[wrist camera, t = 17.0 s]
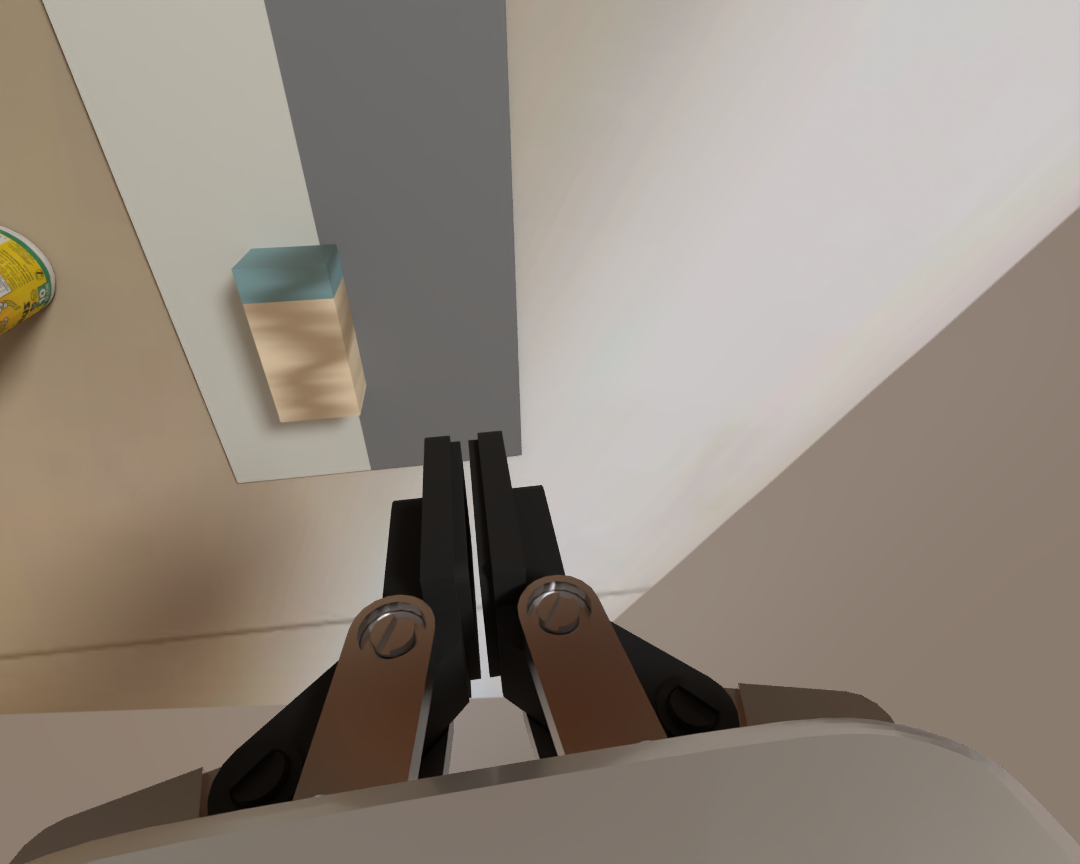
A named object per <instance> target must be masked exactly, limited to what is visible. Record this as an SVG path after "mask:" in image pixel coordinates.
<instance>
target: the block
mask: <svg viewBox="0 0 1080 864" xmlns="http://www.w3.org/2000/svg"><path fill="white" fill-rule="evenodd" d="M231 270H232V273H233V276H234V279H235V282H236V286H237V289H238V292H239V295H240V298H241V301H242V304H243V307H244V310H245V313H246V316H247V319H248V323H249V326H250V329H251V332H252V335H253V338H254V341H255V344H256V347H257V350H258V353H259V356H260V360H261V363H262V366H263V369H264V372H265V375H266V378H267V381H268V384H269V387H270V390H271V393H272V397H273V400H274V403H275V406H276V409H277V412H278V415H279V418H280V421H281V422H292V421H303V420H314V419H326V418H337V417H348V416H360V414H361V409H362V405H363V400H364V395H365V391H366V381H365V377H364V372H363V367H362V363H361V358H360V353H359V348H358V344H357V339H356V334H355V330H354V325H353V320H352V315H351V311H350V306H349V301H348V297H347V292H346V287H345V282H344V278H343V273H342V268H341V264H340V259H339V254H338V249H337V245H336V244H331V245H312V246H293V247H273V248H254V249H250V250H249V251H248V252H247V253H246V255H245V256H244V257H243V258H242V259H241V260H240V261H239V262H238V263H237V264H236V265H235V266H234V267H233V268H232V269H231Z"/></svg>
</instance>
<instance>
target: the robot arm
mask: <svg viewBox="0 0 1080 864" xmlns="http://www.w3.org/2000/svg"><path fill="white" fill-rule="evenodd" d="M477 436H478V439H476V440H468V445H469V457H470V469H471V481H472V494H473V506H474V518H475V530H476V542H477V555H478V566H479V577H480V587H481V597H482V606H483V616H484V625H485V635H486V645H487V654H488V664H489V673H490V677H495V676H501V682H502V692H503V696H504V697H505V698H506V699H508V700H509V701H510V702H512V703H513V704H515V705H516V706H518V707H519V708H520V709H521V710H523V716H524V721H525V725H526V728H527V732H528V735H529V739H530V742H531V746H532V749H533V752H534V756H535V759H536V760H532V761H526V762H520V763H514V764H508V765H502V766H496V767H490V768H484V769H478V770H472V771H466V772H460V773H454V774H448V773H449V766H450V758H451V750H452V741H453V733H454V723H453V720H454V719H455V718H456V716H457V715H458V714H459V713H460V712H461V711H462V710H463V708H464V707H465V706H466V705H467V704H468V703H469V698H471V681H470V680H475V679H481V670H480V656H479V642H478V628H477V614H476V600H475V586H474V572H473V558H472V545H471V534H470V524H469V515H468V506H467V497H466V488H465V479H464V470H463V461H462V452H461V443H460V441H455V442H451V439H450V435H449V436H438V437H427V438H425V439H424V466H423V496H422V498H417V499H407V500H398V501H393V503H392V509H391V519H390V529H389V539H388V549H387V559H386V569H385V579H384V589H383V598H382V599H379V600H377V601H374V602H373V603H371V604H370V605H368V606H367V607H365V608H364V609H363V610H362V611H361V612H360V613H359V614H358V615H357V616H356V617H355V619H354V621H353V622H352V624H351V626H350V628H349V631H348V634H347V637H346V640H345V643H344V646H343V649H342V652H341V655H340V658H339V661H337V662H336V663H335V664H334V665H333V666H332V667H331V668H330V669H328V670H327V671H326V672H325V673H324V674H323V675H322V676H320V677H319V678H318V679H317V680H316V681H315V682H314V683H312V684H311V685H310V686H309V687H308V688H307V689H306V690H304V691H303V692H302V693H301V694H300V695H299V696H298V697H296V698H295V699H294V700H293V701H292V702H291V703H290V704H288V705H287V706H286V707H285V708H284V709H283V710H282V711H280V712H279V713H278V714H277V715H276V716H275V717H274V718H273V719H271V720H270V721H269V722H268V723H267V724H266V725H265V726H263V727H262V728H261V729H260V730H259V731H258V732H257V733H255V734H254V735H253V736H252V737H251V738H250V739H249V740H248V741H246V742H245V743H244V744H243V745H242V746H241V747H240V748H238V749H237V750H236V751H235V752H234V753H233V754H232V755H231V756H230V758H229V759H228V760H227V761H226V762H225V763H224V764H223V765H222V767H220V768H217V769H214V770H212V771H209V772H206V771H205V769H204V768H203V767H201V768H199V769H196V770H193V771H191V772H188V773H185V774H183V775H180V776H177V777H175V778H172V779H169V780H166V781H164V782H161V783H158V784H156V785H153V786H150V787H148V788H145V789H142V790H139V791H137V792H134V793H132V794H129V795H126V796H123V797H121V798H118V799H115V800H113V801H110V802H107V803H105V804H102V805H99V806H96V807H94V808H91V809H88V810H86V811H83V812H80V813H78V814H75V815H73V816H69V817H67V818H64V819H62V820H61V821H59V822H57V823H55V824H53V825H51V826H49V827H47V828H45V829H44V830H42V831H41V832H40V833H39V834H38V835H36V836H35V837H34V838H33V839H31V840H30V841H29V842H28V843H27V844H25V845H24V846H23V847H22V849H21V850H20V851H19V852H18V854H17V855H16V856H15V857H14V859H13V860H12V861H11V862H10V863H9V864H1080V847H1079V845H1078V844H1077V843H1076V842H1075V841H1074V840H1073V839H1072V837H1071V836H1070V835H1069V834H1068V833H1067V832H1066V831H1065V830H1064V829H1063V827H1061V826H1060V824H1059V823H1058V822H1057V821H1056V820H1055V819H1054V818H1053V817H1052V816H1051V815H1050V814H1049V813H1048V811H1047V810H1045V808H1044V807H1043V806H1042V805H1041V804H1040V803H1039V802H1038V801H1037V800H1036V799H1035V798H1034V797H1033V796H1032V795H1031V794H1030V793H1029V792H1028V791H1027V790H1026V789H1025V788H1024V787H1023V786H1022V785H1021V784H1020V783H1019V782H1017V781H1016V780H1015V779H1014V778H1013V777H1012V776H1011V775H1009V774H1008V773H1007V772H1006V771H1005V770H1004V769H1003V768H1001V767H1000V766H999V765H997V764H996V763H994V762H993V761H992V760H990V759H989V758H987V757H986V756H985V755H983V754H981V753H979V752H977V751H976V750H974V749H972V748H970V747H968V746H966V745H964V744H962V743H959V742H956V741H954V740H952V739H949V738H947V737H943V736H941V735H938V734H935V733H932V732H928V731H925V730H921V729H917V728H913V727H910V726H906V725H902V724H896V723H894V721H893V720H892V718H891V717H890V715H889V714H888V713H886V712H885V711H884V710H883V709H882V708H881V707H880V706H879V705H878V704H877V703H875V702H873V701H871V700H869V699H868V698H866V697H864V696H862V695H859V694H855V693H851V692H847V691H836V690H823V689H811V688H798V687H784V686H772V685H758V684H745V683H738V685H737V688H736V689H735V688H723V687H722V686H721V685H719V684H718V683H717V682H715V681H714V680H712V679H711V678H710V677H708V676H706V675H704V674H703V673H701V672H699V671H697V670H695V669H694V668H692V667H690V666H688V665H687V664H685V663H683V662H682V661H680V660H678V659H676V658H674V657H672V656H671V655H669V654H667V653H666V652H664V651H662V650H660V649H659V648H657V647H655V646H653V645H651V644H650V643H648V642H646V641H644V640H643V639H641V638H639V637H637V636H636V635H634V634H632V633H630V632H629V631H627V630H625V629H623V628H621V627H620V626H618V625H616V624H614V623H613V622H611V621H610V620H609V618H608V616H607V614H606V612H605V610H604V608H603V606H602V604H601V602H600V600H599V598H598V596H597V595H596V594H595V592H594V591H593V589H592V588H591V587H590V586H588V585H587V584H586V583H584V582H583V581H582V580H579V579H576V578H574V577H571V576H565V572H564V568H563V564H562V560H561V556H560V552H559V548H558V544H557V540H556V536H555V532H554V528H553V524H552V520H551V516H550V512H549V508H548V504H547V500H546V496H545V492H544V489H543V486H542V485H539V486H529V487H520V488H512V486H511V480H510V475H509V469H508V463H507V457H506V452H505V446H504V440H503V434H502V431H491V432H481V433H477Z"/></svg>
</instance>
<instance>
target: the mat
mask: <svg viewBox="0 0 1080 864" xmlns="http://www.w3.org/2000/svg"><path fill="white" fill-rule="evenodd" d="M42 1H43V3H44V6H45V8H46V11H47V13H48V16H49V18H50V21H51V23H52V26H53V28H54V30H55V33H56V35H57V38H58V40H59V43H60V45H61V48H62V50H63V53H64V55H65V58H66V60H67V63H68V65H69V67H70V70H71V72H72V75H73V77H74V80H75V82H76V85H77V87H78V90H79V92H80V95H81V97H82V100H83V102H84V105H85V107H86V109H87V112H88V114H89V117H90V119H91V122H92V124H93V127H94V129H95V132H96V134H97V137H98V139H99V142H100V144H101V146H102V149H103V151H104V154H105V156H106V159H107V161H108V164H109V166H110V169H111V171H112V174H113V176H114V179H115V181H116V184H117V186H118V188H119V191H120V193H121V196H122V198H123V201H124V203H125V206H126V208H127V211H128V213H129V216H130V218H131V221H132V223H133V225H134V228H135V230H136V233H137V235H138V238H139V240H140V243H141V245H142V248H143V250H144V253H145V255H146V258H147V260H148V263H149V265H150V267H151V270H152V272H153V275H154V277H155V280H156V282H157V285H158V287H159V290H160V292H161V295H162V297H163V300H164V302H165V304H166V307H167V309H168V312H169V314H170V317H171V319H172V322H173V324H174V327H175V329H176V332H177V334H178V337H179V339H180V342H181V344H182V346H183V349H184V351H185V354H186V356H187V359H188V361H189V364H190V366H191V369H192V371H193V374H194V376H195V379H196V381H197V383H198V386H199V388H200V391H201V393H202V396H203V398H204V401H205V403H206V406H207V408H208V411H209V413H210V416H211V418H212V421H213V423H214V425H215V428H216V430H217V433H218V435H219V438H220V440H221V443H222V445H223V448H224V450H225V453H226V455H227V458H228V460H229V462H230V465H231V467H232V470H233V472H234V475H235V477H236V480H237V482H238V483H245V482H255V481H265V480H275V479H285V478H295V477H305V476H315V475H325V474H335V473H345V472H355V471H365V470H376V469H386V468H396V467H406V466H416V465H424V439H425V438H427V437H438V436H449V435H450V439H451V442H455V441H460V443H461V452H462V461H466V460H470V457H469V445H468V440H476V439H478V436H477V433H481V432H491V431H502V434H503V440H504V446H505V452H506V456H516V455H522V450H521V422H520V394H519V366H518V338H517V310H516V282H515V254H514V226H513V199H512V171H511V143H510V115H509V87H508V59H507V31H506V3H505V0H42ZM331 244H336V245H337V249H338V254H339V259H340V264H341V268H342V273H343V278H344V282H345V287H346V292H347V297H348V301H349V306H350V311H351V315H352V320H353V325H354V330H355V334H356V339H357V344H358V348H359V353H360V358H361V363H362V367H363V372H364V377H365V381H366V391H365V395H364V400H363V405H362V409H361V414H360V416H348V417H337V418H326V419H314V420H303V421H292V422H281V421H280V418H279V415H278V412H277V409H276V406H275V403H274V400H273V397H272V393H271V390H270V387H269V384H268V381H267V378H266V375H265V372H264V369H263V366H262V363H261V360H260V356H259V353H258V350H257V347H256V344H255V341H254V338H253V335H252V332H251V329H250V326H249V323H248V319H247V316H246V313H245V310H244V307H243V304H242V301H241V298H240V295H239V292H238V289H237V286H236V282H235V279H234V276H233V273H232V270H231V269H232V268H233V267H234V266H235V265H236V264H237V263H238V262H239V261H240V260H241V259H242V258H243V257H244V256H245V255H246V253H247V252H248V251H249V250H250V249H254V248H273V247H293V246H312V245H331Z"/></svg>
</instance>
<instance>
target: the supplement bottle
mask: <svg viewBox="0 0 1080 864" xmlns="http://www.w3.org/2000/svg"><path fill="white" fill-rule="evenodd" d="M54 291H55V274H54V271H53V269H52V266H51V264H50V262H49V261H48V259H47V258H46V257H45V255H44V254H43V253H42V252H41V251H40V250H39V249H38V248H37V247H36V246H35V245H34V244H33V243H32V242H30V241H29V240H28V239H27V238H25V237H24V236H22V235H20V234H19V233H17V232H15V231H12V230H10V229H8V228H6V227H3V226H0V335H2V334H3V333H5V332H7V331H8V330H10V329H11V328H13V327H15V326H16V325H18V324H19V323H21V322H22V321H24V320H26V319H27V318H29V317H30V316H32V315H33V314H35V313H37V312H38V311H39V310H41V309H42V308H44V307H45V306H46V305H47V304H48V303H49V302H50V301H51V300H52V298H53V296H54Z"/></svg>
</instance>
